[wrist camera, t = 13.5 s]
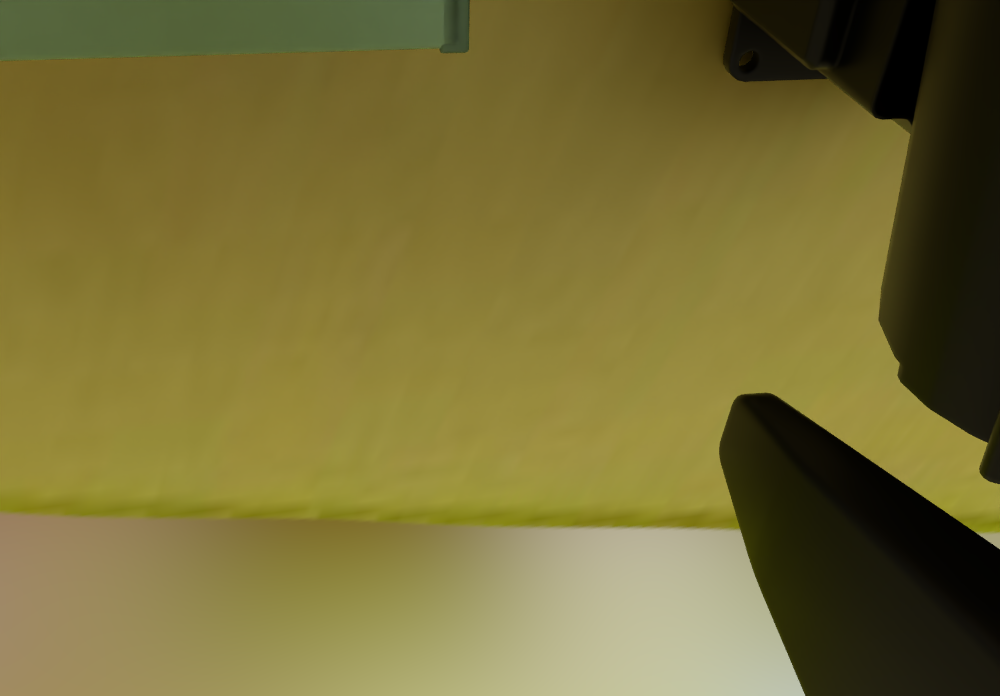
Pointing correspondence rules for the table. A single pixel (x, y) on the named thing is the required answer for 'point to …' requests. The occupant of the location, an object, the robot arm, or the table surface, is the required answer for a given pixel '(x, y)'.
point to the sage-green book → (226, 27)
